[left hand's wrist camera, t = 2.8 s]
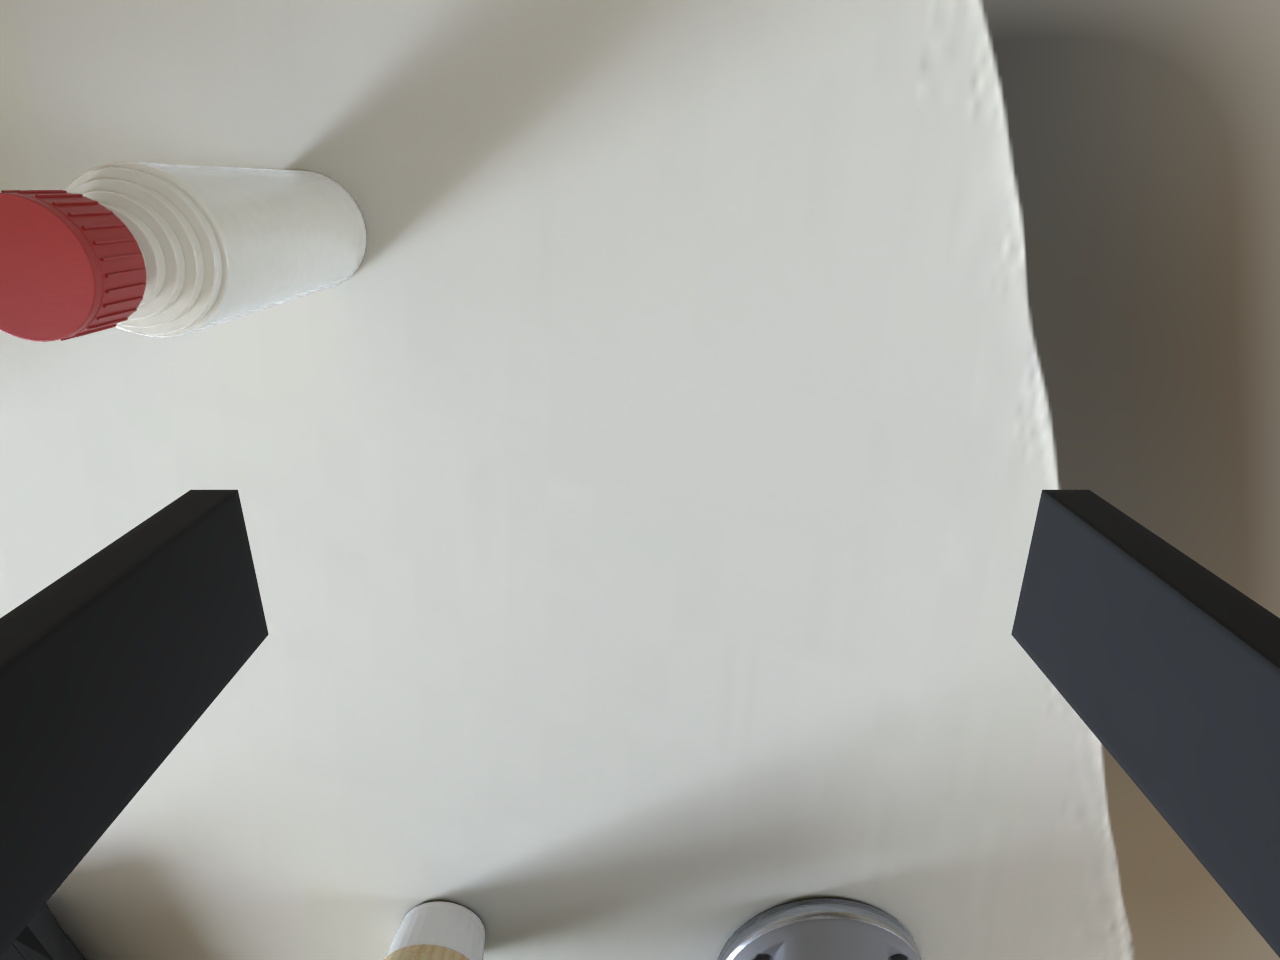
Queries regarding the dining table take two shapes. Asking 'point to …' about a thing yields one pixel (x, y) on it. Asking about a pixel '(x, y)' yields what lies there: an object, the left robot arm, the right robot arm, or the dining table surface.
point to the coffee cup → (438, 934)
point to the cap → (65, 266)
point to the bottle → (227, 238)
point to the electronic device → (42, 941)
